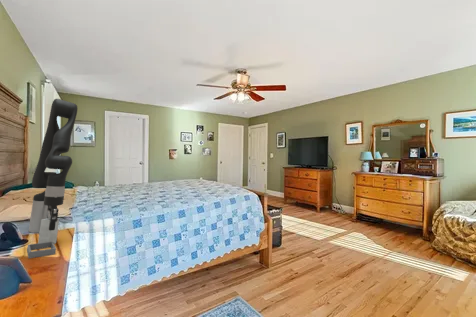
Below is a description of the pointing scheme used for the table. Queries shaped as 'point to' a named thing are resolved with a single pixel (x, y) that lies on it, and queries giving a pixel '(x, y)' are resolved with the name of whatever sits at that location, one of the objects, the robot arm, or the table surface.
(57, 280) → the table surface
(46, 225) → the skincare box
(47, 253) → the frame
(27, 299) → the table surface
